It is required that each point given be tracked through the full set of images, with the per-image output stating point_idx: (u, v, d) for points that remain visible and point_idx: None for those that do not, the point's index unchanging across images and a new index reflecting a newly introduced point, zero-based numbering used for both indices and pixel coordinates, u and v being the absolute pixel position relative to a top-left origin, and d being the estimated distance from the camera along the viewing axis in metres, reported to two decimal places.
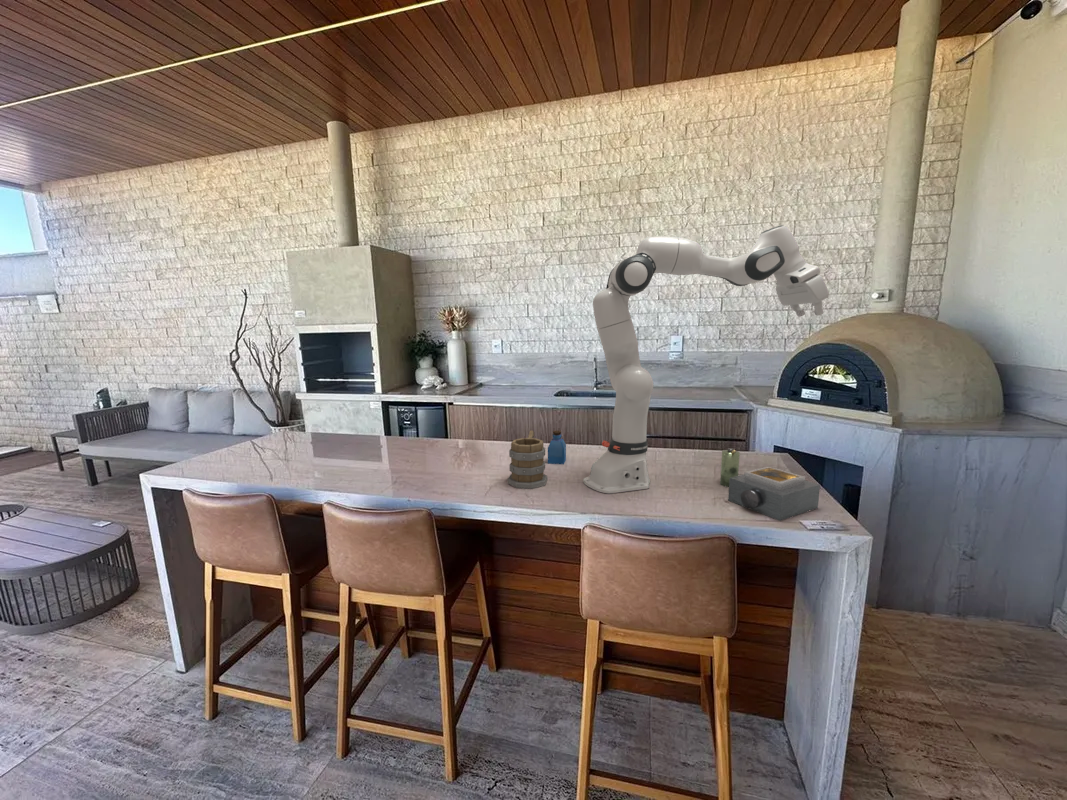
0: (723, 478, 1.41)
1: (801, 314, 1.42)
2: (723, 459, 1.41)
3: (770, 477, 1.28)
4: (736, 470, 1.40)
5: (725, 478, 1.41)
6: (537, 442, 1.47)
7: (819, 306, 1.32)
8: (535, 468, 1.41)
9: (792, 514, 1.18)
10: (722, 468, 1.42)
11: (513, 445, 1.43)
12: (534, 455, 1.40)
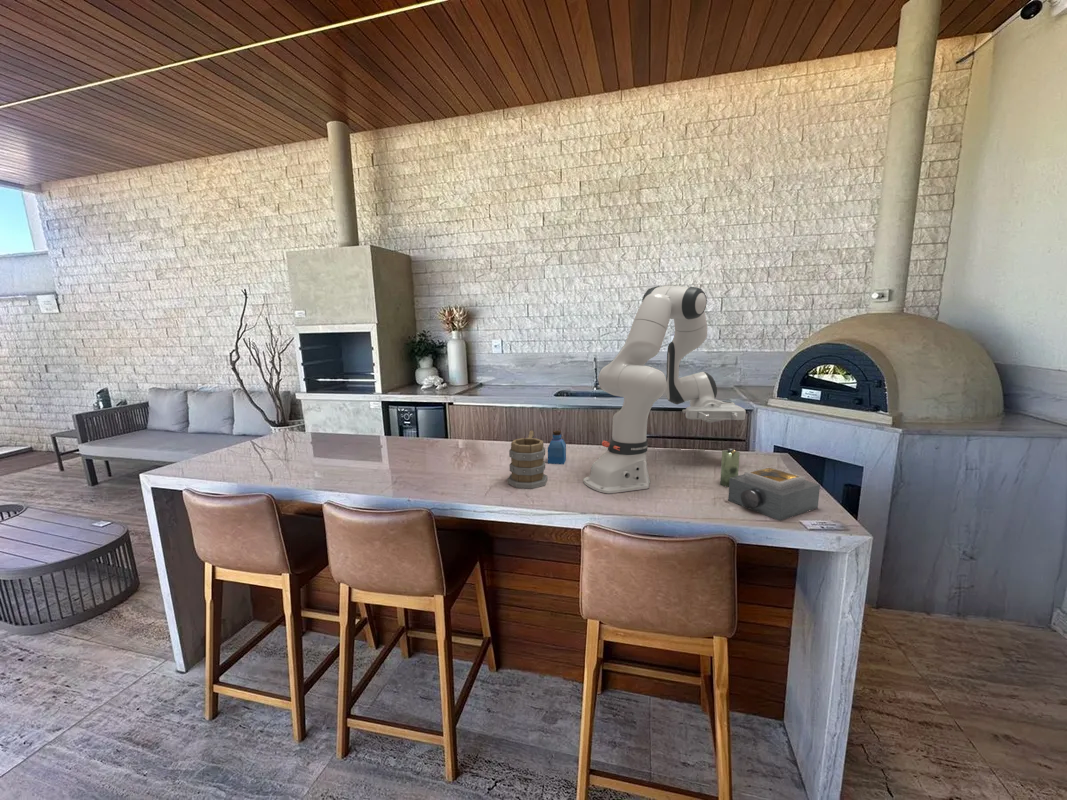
0: (723, 478, 1.41)
1: None
2: (723, 459, 1.41)
3: (770, 477, 1.28)
4: (736, 470, 1.40)
5: (725, 478, 1.41)
6: (537, 442, 1.47)
7: None
8: (535, 468, 1.41)
9: (792, 514, 1.18)
10: (722, 468, 1.42)
11: (513, 445, 1.43)
12: (534, 455, 1.40)
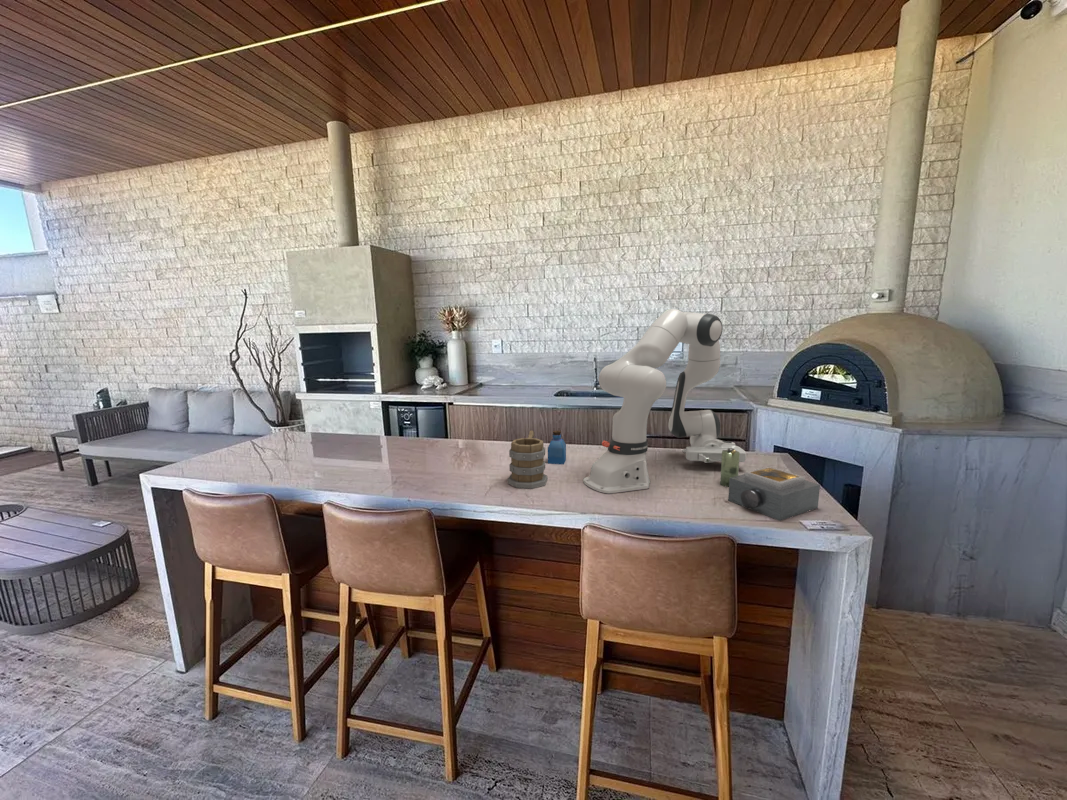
0: (723, 478, 1.41)
1: None
2: (723, 459, 1.41)
3: (770, 477, 1.28)
4: (736, 470, 1.40)
5: (725, 477, 1.41)
6: (537, 442, 1.47)
7: None
8: (535, 468, 1.41)
9: (792, 514, 1.18)
10: (722, 468, 1.42)
11: (513, 445, 1.43)
12: (534, 455, 1.40)
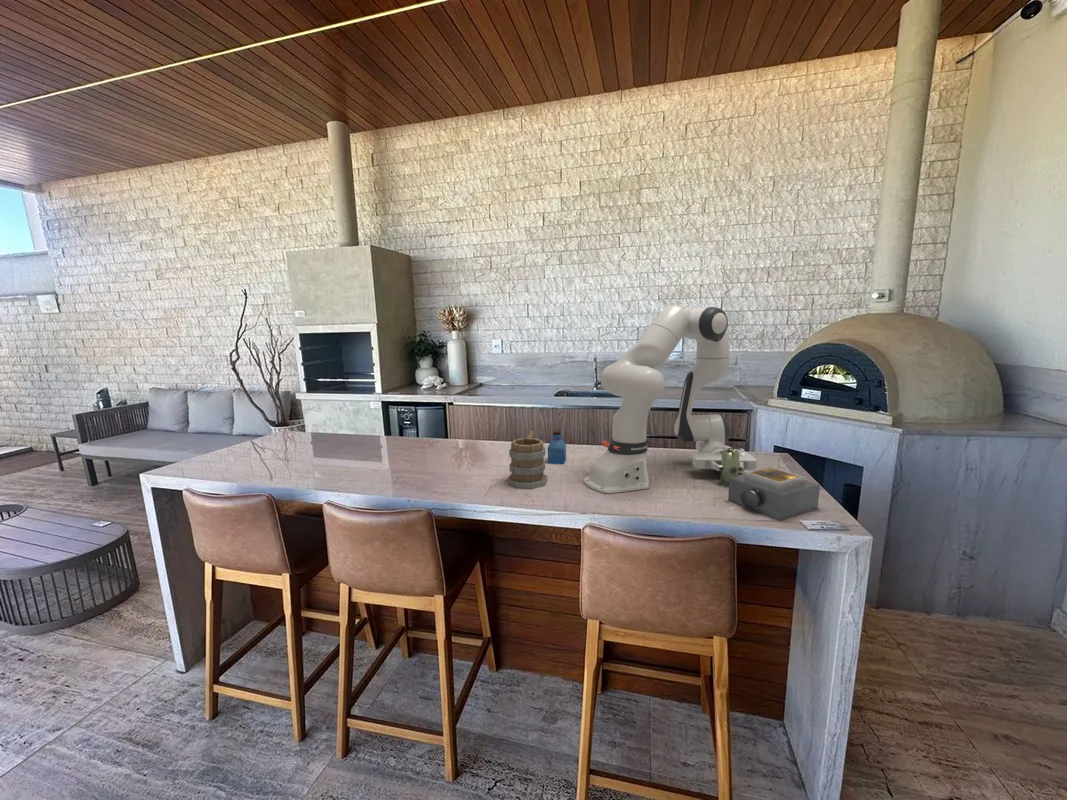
0: (723, 478, 1.41)
1: None
2: (723, 459, 1.41)
3: (770, 477, 1.28)
4: (736, 469, 1.40)
5: (725, 477, 1.41)
6: (537, 442, 1.47)
7: None
8: (535, 468, 1.41)
9: (792, 514, 1.18)
10: (722, 468, 1.42)
11: (513, 445, 1.43)
12: (534, 455, 1.40)
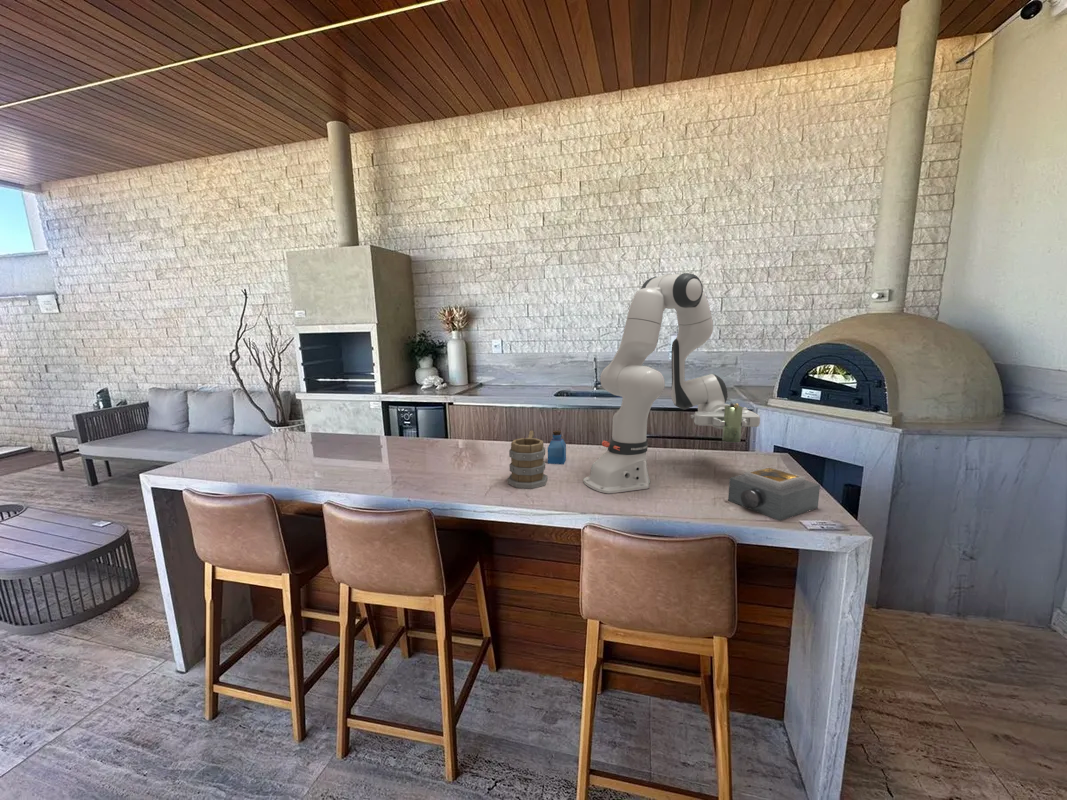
0: (726, 433, 1.39)
1: None
2: (726, 414, 1.39)
3: (770, 477, 1.28)
4: (739, 424, 1.37)
5: (727, 433, 1.39)
6: (537, 442, 1.47)
7: None
8: (535, 468, 1.41)
9: (792, 514, 1.18)
10: (725, 423, 1.39)
11: (513, 445, 1.43)
12: (534, 455, 1.40)
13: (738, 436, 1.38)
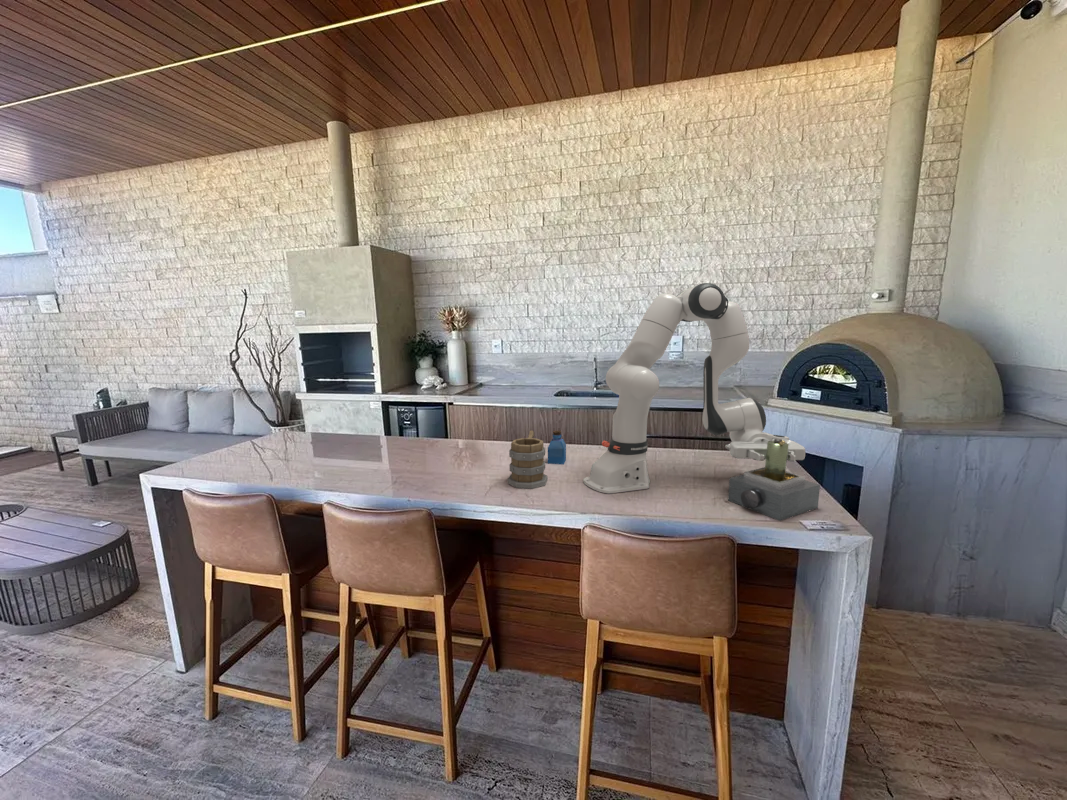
0: (769, 473, 1.24)
1: None
2: (769, 451, 1.24)
3: None
4: (784, 463, 1.22)
5: (770, 472, 1.24)
6: (537, 442, 1.47)
7: None
8: (535, 468, 1.41)
9: (792, 514, 1.18)
10: (767, 461, 1.24)
11: (513, 445, 1.43)
12: (534, 455, 1.40)
13: (783, 476, 1.23)
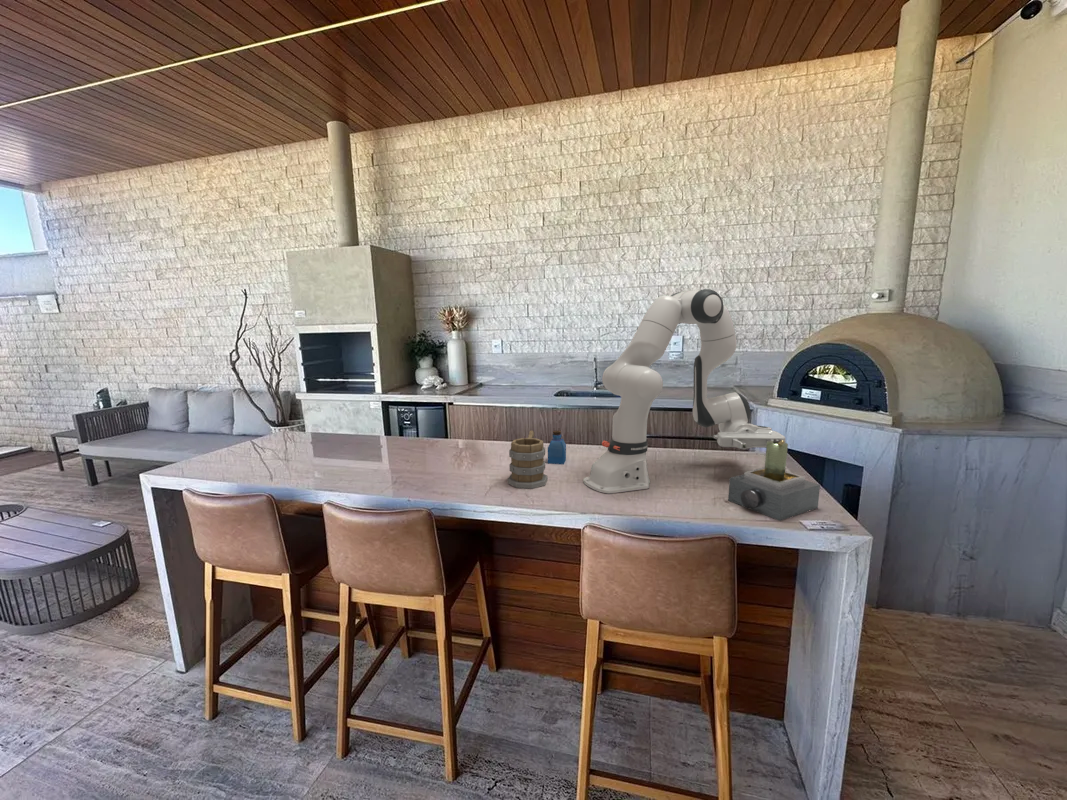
0: (769, 473, 1.24)
1: None
2: (768, 451, 1.24)
3: None
4: (784, 463, 1.22)
5: (770, 472, 1.24)
6: (537, 442, 1.47)
7: None
8: (535, 468, 1.41)
9: (792, 514, 1.18)
10: (767, 461, 1.24)
11: (513, 445, 1.43)
12: (534, 455, 1.40)
13: (782, 476, 1.23)
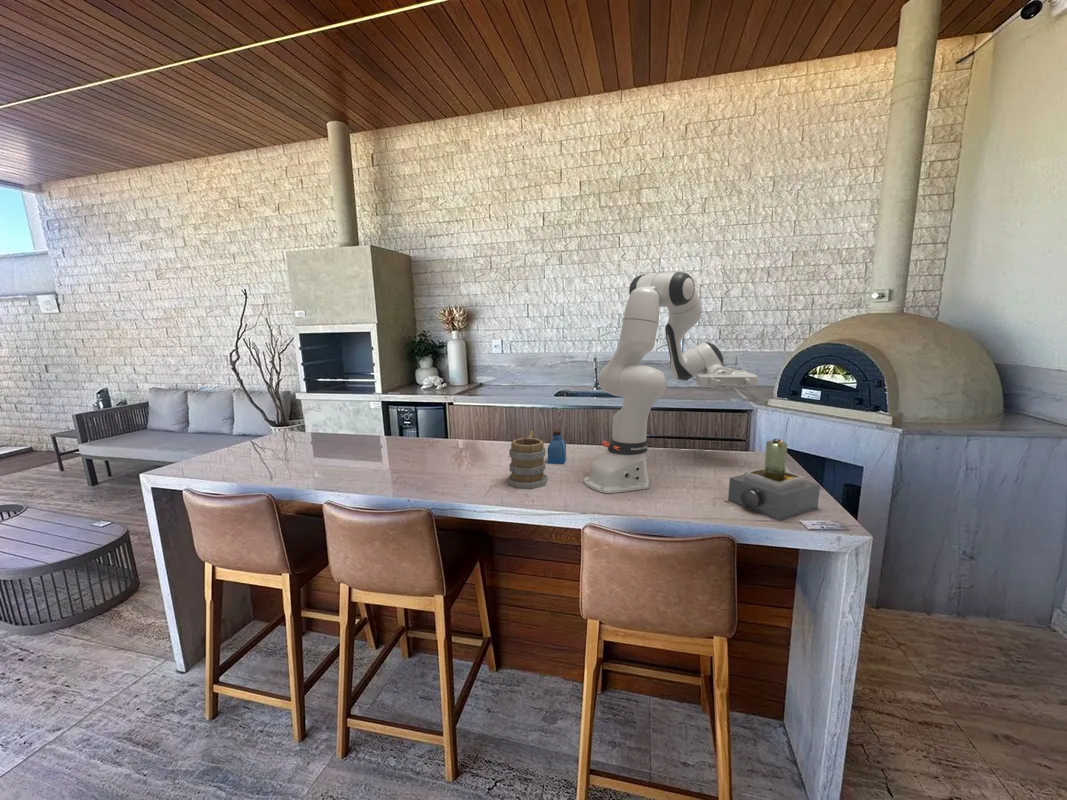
0: (768, 473, 1.24)
1: None
2: (768, 451, 1.24)
3: None
4: (784, 463, 1.22)
5: (770, 472, 1.24)
6: (537, 442, 1.47)
7: None
8: (535, 468, 1.41)
9: (792, 514, 1.18)
10: (767, 461, 1.24)
11: (513, 445, 1.43)
12: (534, 455, 1.40)
13: (782, 476, 1.23)
